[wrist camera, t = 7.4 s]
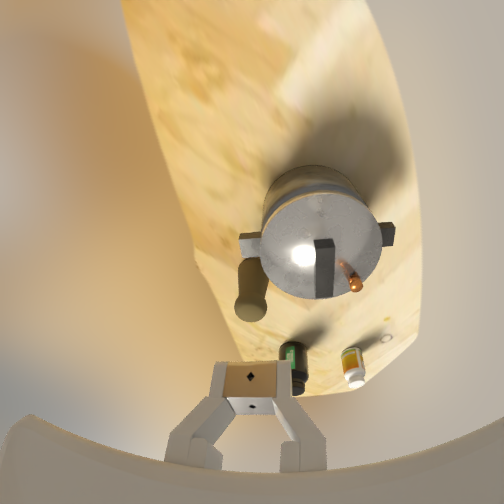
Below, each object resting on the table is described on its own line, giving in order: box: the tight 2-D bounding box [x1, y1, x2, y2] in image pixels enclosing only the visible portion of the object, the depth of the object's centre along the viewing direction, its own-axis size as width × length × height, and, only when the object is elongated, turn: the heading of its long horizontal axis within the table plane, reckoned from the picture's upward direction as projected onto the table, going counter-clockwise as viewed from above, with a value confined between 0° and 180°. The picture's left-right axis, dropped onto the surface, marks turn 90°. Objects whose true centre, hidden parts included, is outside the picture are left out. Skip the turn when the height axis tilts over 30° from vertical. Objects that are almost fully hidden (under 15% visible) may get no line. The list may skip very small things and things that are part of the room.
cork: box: [234, 258, 269, 322], centre depth 47 cm, size 6×6×11 cm
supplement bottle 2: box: [341, 347, 366, 388], centre depth 61 cm, size 5×5×10 cm
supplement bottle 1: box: [279, 342, 309, 396], centre depth 60 cm, size 7×7×12 cm
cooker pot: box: [239, 165, 396, 258], centre depth 40 cm, size 16×22×10 cm
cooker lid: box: [260, 190, 382, 299], centre depth 34 cm, size 16×16×4 cm
